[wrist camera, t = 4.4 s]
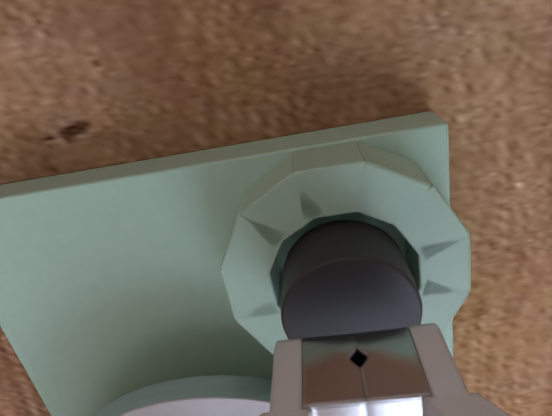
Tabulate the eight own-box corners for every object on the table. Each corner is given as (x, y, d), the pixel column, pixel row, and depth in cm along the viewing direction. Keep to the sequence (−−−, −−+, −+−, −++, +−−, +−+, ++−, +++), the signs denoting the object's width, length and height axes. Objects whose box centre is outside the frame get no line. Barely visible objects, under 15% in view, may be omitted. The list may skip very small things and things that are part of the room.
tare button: (273, 228, 10) (268, 268, 9) (400, 209, 10) (420, 247, 8) (294, 326, 11) (293, 377, 10) (408, 313, 11) (426, 363, 9)
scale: (-34, 189, 13) (-120, 236, 10) (432, 109, 11) (474, 141, 9) (147, 532, 20) (123, 612, 18) (447, 515, 19) (472, 600, 16)
